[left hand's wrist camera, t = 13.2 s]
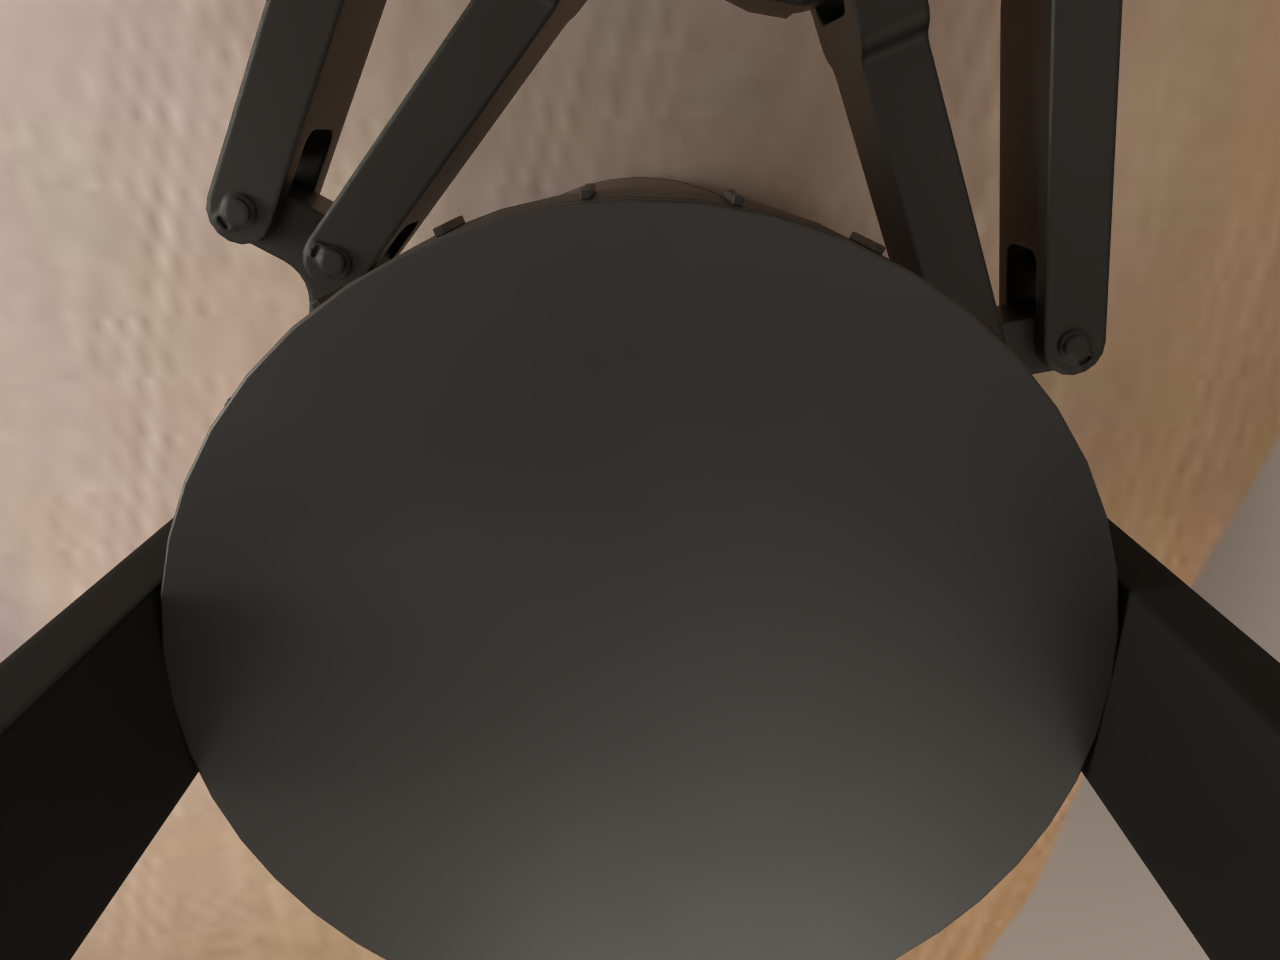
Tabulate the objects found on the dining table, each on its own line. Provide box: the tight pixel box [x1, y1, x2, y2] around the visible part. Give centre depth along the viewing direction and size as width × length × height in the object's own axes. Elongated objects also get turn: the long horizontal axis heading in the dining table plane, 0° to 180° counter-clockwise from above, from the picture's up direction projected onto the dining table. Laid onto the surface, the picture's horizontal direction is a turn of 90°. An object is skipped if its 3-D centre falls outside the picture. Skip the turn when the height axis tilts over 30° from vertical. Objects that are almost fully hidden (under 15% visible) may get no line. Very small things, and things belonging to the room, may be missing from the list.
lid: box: [161, 183, 1119, 960], centre depth 12 cm, size 12×12×2 cm
